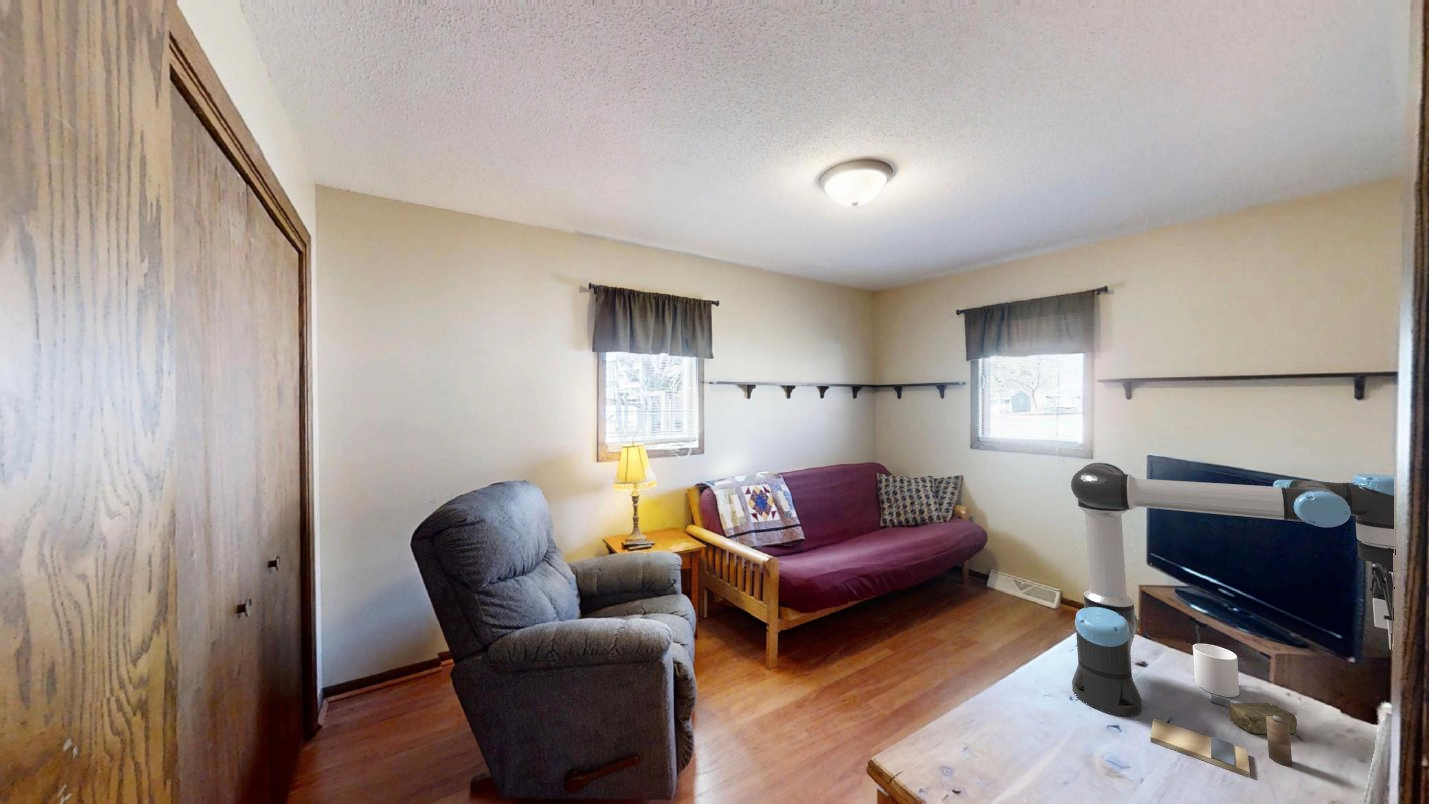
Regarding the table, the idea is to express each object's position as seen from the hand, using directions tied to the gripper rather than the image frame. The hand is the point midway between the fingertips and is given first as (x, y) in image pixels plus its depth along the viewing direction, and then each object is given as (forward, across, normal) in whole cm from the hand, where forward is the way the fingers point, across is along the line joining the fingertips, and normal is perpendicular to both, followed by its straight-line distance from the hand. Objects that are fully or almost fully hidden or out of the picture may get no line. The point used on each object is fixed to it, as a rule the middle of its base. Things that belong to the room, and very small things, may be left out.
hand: (1392, 639), depth 103 cm
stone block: (+28, -2, +20) cm, 35 cm away
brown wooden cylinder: (+28, -15, +18) cm, 37 cm away
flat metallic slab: (+28, -10, +31) cm, 43 cm away
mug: (+28, +14, +27) cm, 41 cm away
